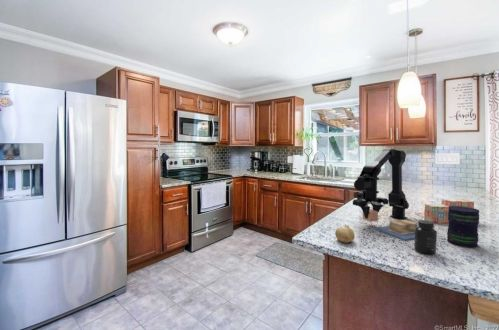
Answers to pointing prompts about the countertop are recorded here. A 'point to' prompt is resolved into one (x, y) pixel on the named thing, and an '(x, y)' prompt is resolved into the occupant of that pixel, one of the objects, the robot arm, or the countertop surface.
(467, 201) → the stack of blocks
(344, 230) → the onion
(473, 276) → the countertop surface
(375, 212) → the terracotta cube
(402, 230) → the oak brick
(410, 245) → the countertop surface
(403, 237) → the board
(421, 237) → the supplement bottle
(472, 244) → the storage jar
